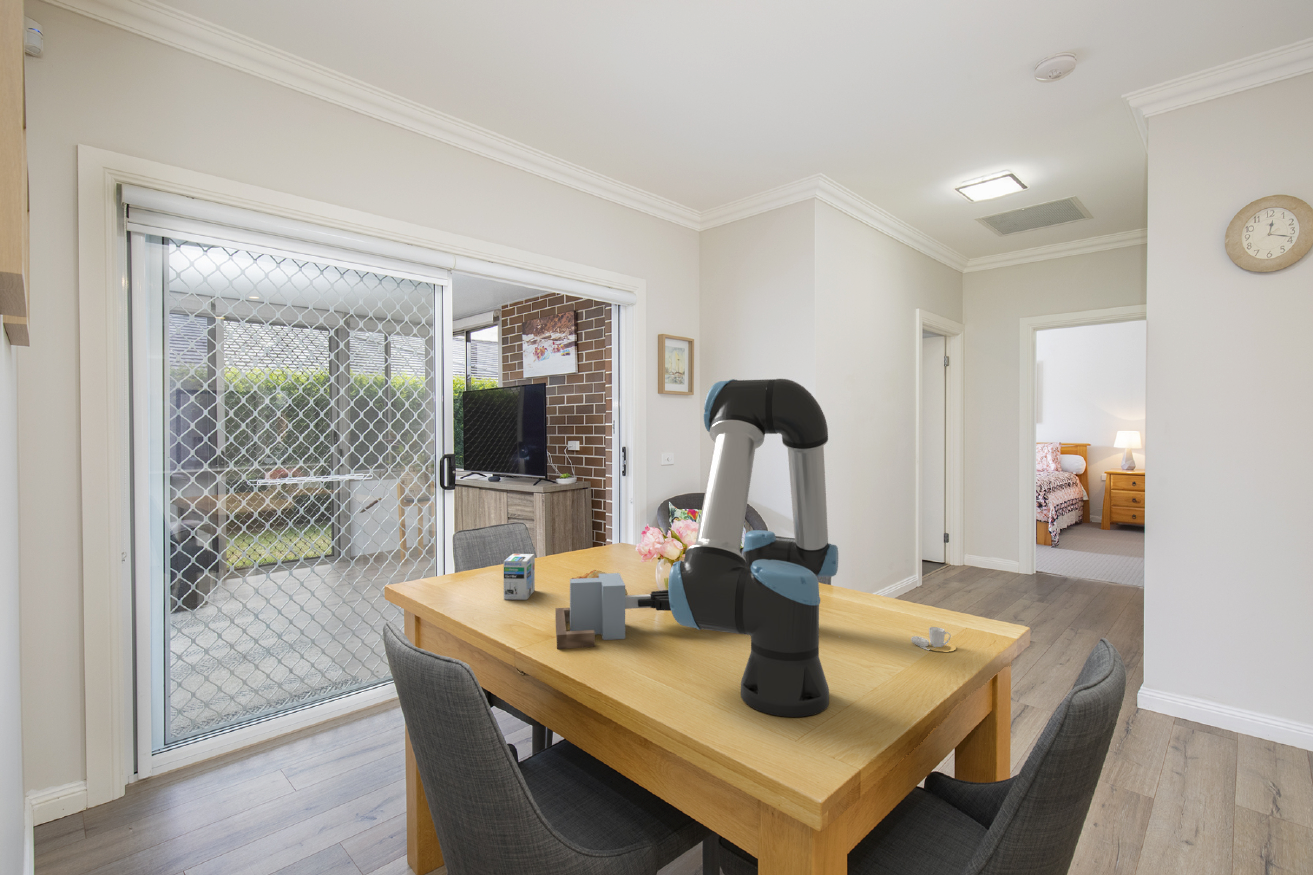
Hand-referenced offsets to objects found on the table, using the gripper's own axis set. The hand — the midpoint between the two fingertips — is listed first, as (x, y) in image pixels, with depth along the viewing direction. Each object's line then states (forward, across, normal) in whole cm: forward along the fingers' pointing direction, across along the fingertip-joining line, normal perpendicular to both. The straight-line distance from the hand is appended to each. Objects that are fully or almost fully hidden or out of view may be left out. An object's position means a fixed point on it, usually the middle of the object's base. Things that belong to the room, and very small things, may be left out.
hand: (623, 602), depth 145 cm
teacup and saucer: (-66, -19, -7) cm, 69 cm away
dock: (+12, 0, -7) cm, 13 cm away
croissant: (+3, +33, -7) cm, 33 cm away
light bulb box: (+25, +35, -7) cm, 44 cm away
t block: (+6, 0, -6) cm, 9 cm away
